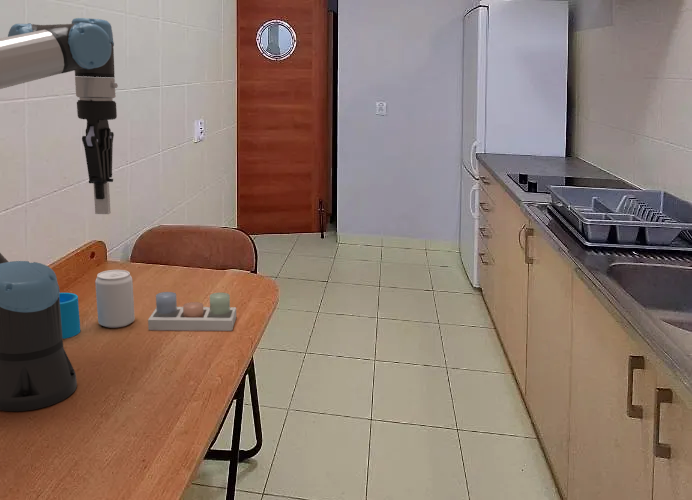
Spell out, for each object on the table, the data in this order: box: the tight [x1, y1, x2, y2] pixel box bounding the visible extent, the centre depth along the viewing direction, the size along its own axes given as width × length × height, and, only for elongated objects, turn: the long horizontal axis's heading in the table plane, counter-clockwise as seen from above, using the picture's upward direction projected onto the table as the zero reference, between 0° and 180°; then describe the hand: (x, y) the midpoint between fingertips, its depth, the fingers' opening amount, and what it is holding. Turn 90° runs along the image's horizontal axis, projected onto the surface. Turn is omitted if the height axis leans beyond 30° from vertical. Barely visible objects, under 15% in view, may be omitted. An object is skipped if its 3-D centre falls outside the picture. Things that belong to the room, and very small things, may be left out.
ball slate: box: [155, 291, 178, 314], centre depth 154 cm, size 5×5×4 cm
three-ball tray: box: [147, 306, 237, 332], centre depth 155 cm, size 9×19×2 cm, turn 93°
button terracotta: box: [182, 301, 204, 318], centre depth 155 cm, size 5×5×4 cm
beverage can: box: [94, 269, 135, 329], centre depth 153 cm, size 8×8×12 cm
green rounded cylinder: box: [209, 292, 231, 314], centre depth 154 cm, size 5×5×4 cm
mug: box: [59, 292, 81, 340], centre depth 149 cm, size 12×8×8 cm
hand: (102, 213), depth 139 cm, fingers closed
